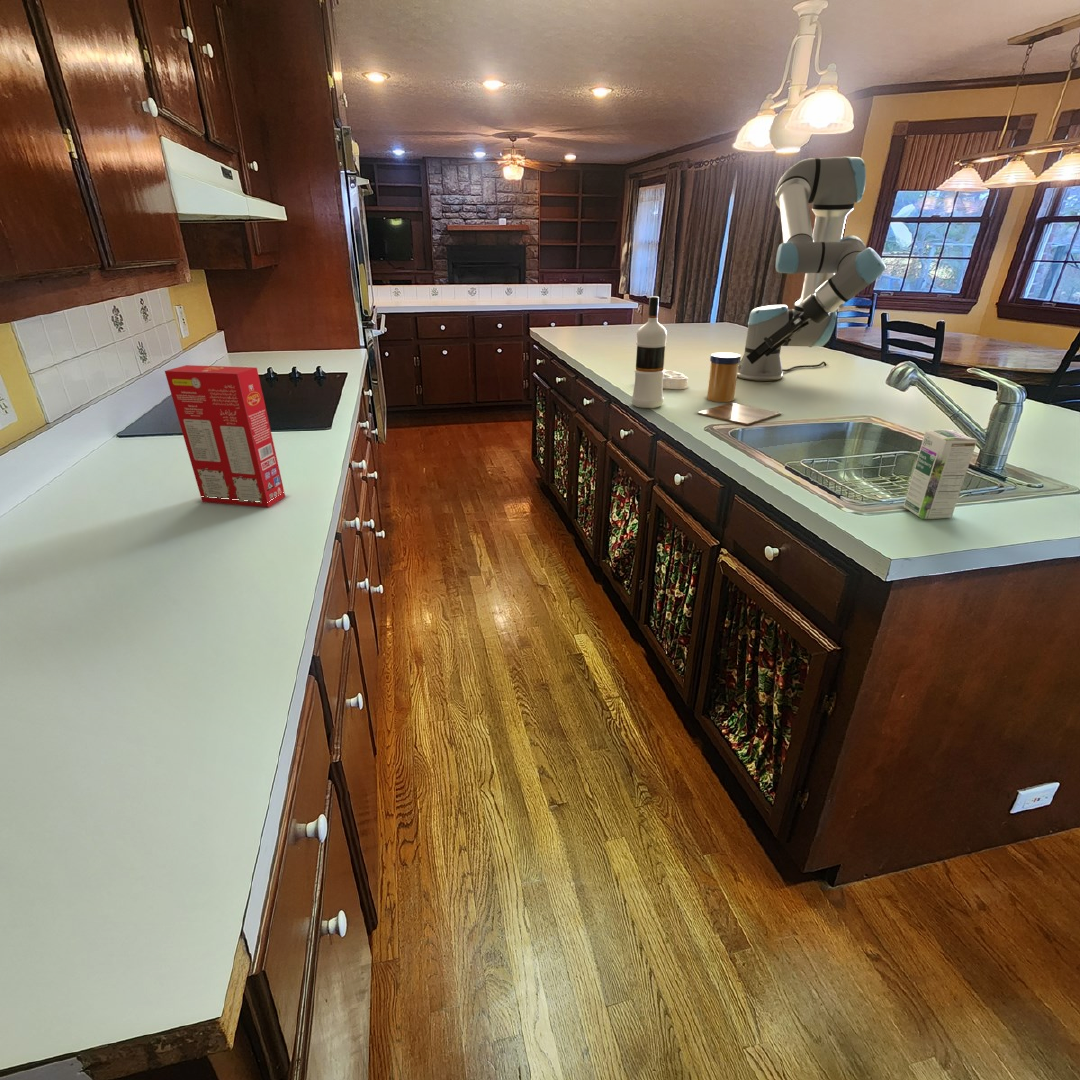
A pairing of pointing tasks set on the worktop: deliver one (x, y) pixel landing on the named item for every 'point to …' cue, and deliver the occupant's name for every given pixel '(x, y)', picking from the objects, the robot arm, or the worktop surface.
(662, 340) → the vodka
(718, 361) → the lid
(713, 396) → the jar
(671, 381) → the white brass knuckles
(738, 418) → the trivet
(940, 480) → the syrup box
